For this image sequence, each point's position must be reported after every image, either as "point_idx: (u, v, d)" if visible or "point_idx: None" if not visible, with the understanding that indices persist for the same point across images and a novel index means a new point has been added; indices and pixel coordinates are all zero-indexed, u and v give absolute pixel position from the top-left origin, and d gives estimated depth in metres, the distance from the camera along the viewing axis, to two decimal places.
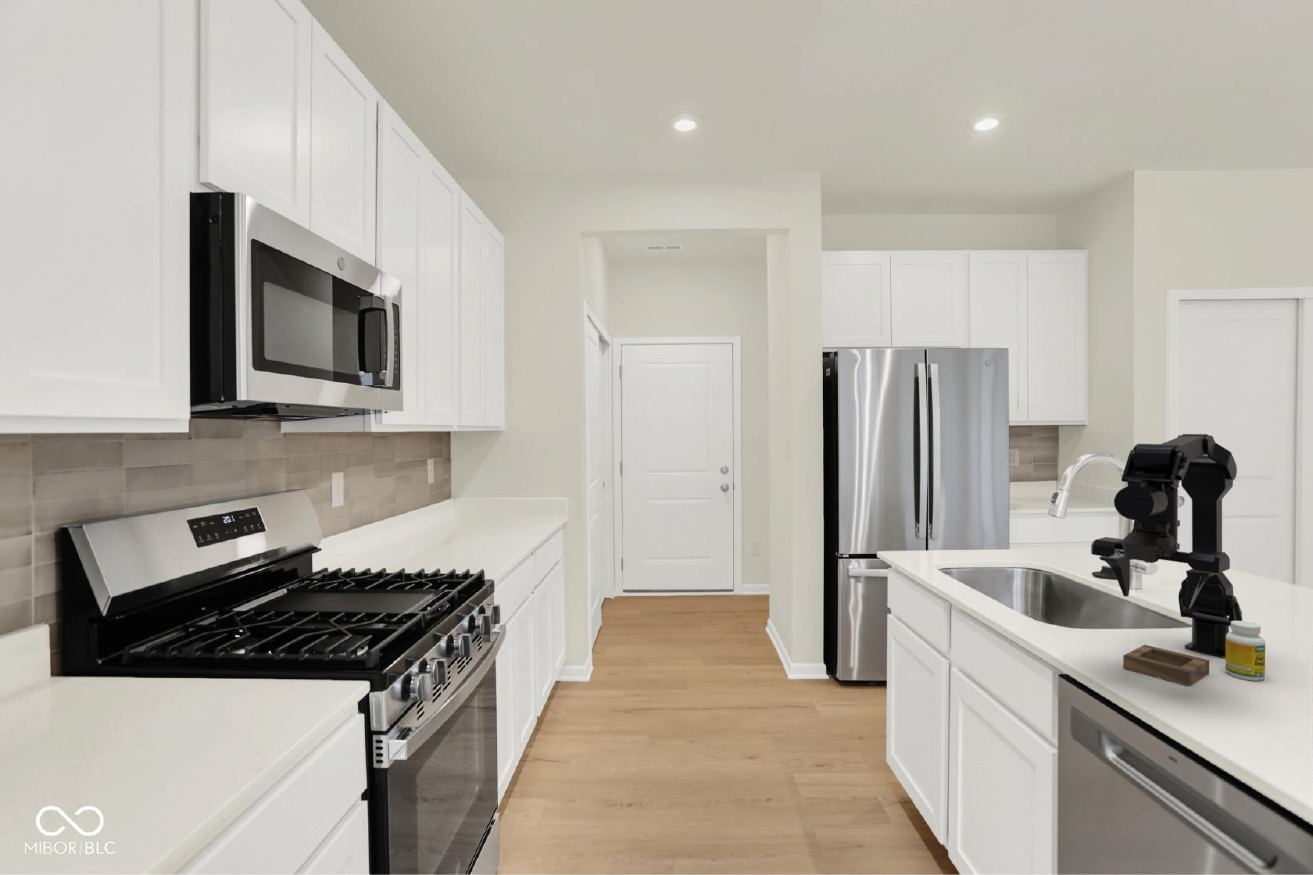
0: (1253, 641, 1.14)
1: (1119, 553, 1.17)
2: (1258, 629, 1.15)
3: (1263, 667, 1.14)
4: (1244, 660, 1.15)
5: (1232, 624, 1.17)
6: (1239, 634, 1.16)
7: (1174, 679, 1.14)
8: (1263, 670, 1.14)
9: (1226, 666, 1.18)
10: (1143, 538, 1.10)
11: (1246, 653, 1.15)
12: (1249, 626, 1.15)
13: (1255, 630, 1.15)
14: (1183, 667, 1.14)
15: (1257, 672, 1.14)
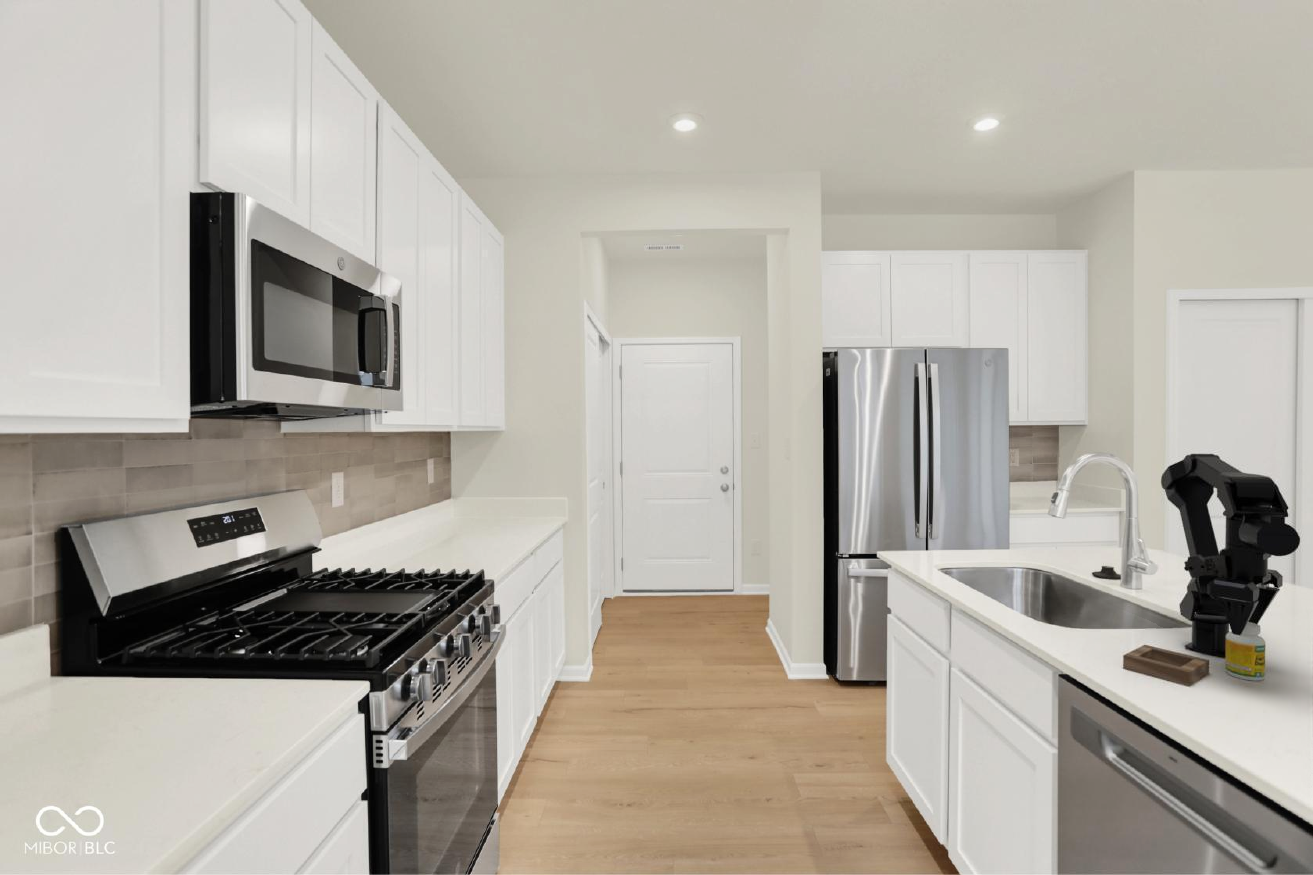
0: (1253, 641, 1.14)
1: None
2: (1258, 629, 1.15)
3: (1263, 667, 1.14)
4: (1244, 660, 1.15)
5: None
6: None
7: (1174, 679, 1.14)
8: (1263, 670, 1.14)
9: (1226, 666, 1.18)
10: None
11: (1246, 653, 1.15)
12: (1249, 626, 1.15)
13: (1255, 630, 1.15)
14: (1183, 667, 1.14)
15: (1257, 672, 1.14)
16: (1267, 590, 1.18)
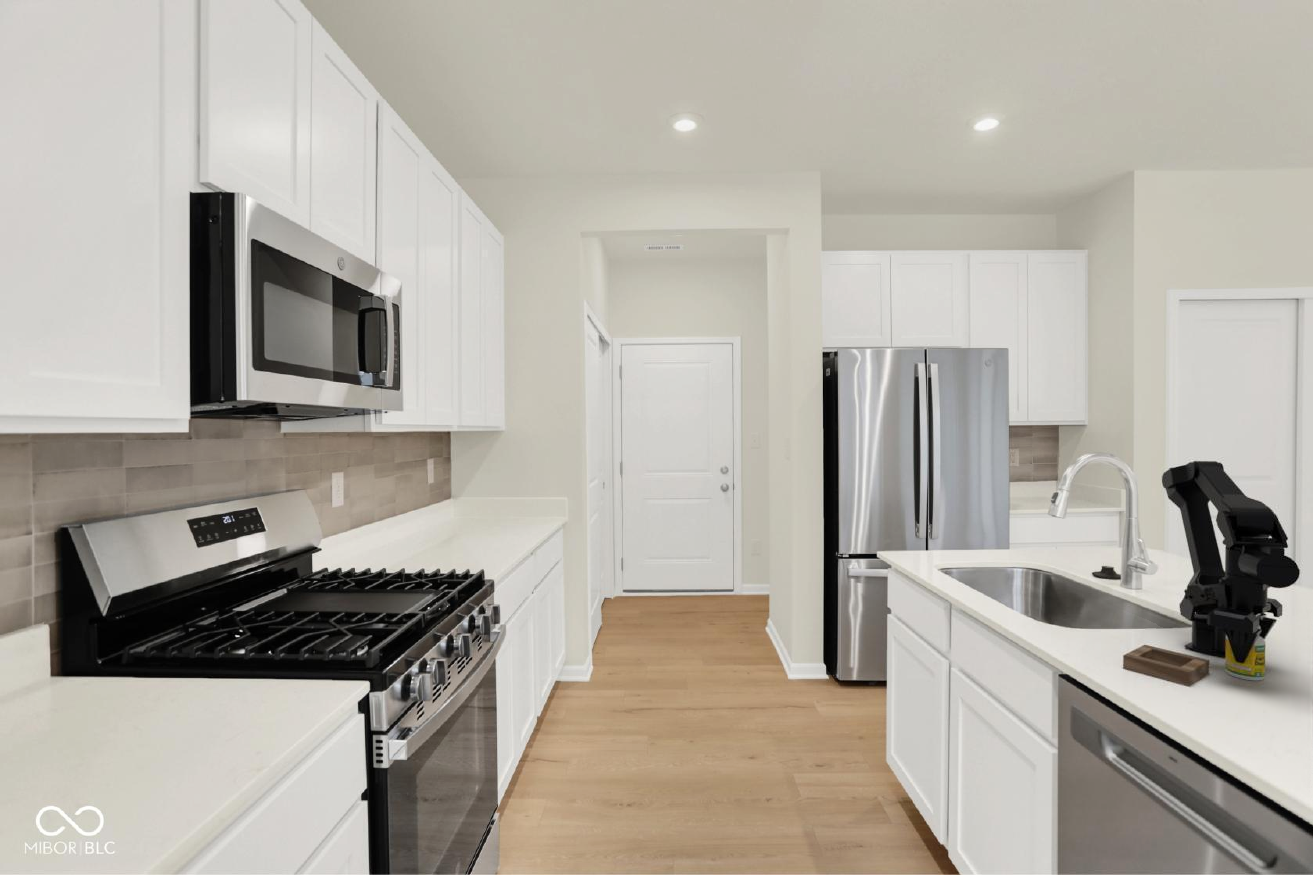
0: None
1: None
2: None
3: (1263, 667, 1.14)
4: None
5: None
6: None
7: (1174, 679, 1.14)
8: (1263, 670, 1.14)
9: (1226, 666, 1.18)
10: (1202, 586, 1.21)
11: None
12: None
13: None
14: (1183, 667, 1.14)
15: (1257, 672, 1.14)
16: (1264, 621, 1.17)
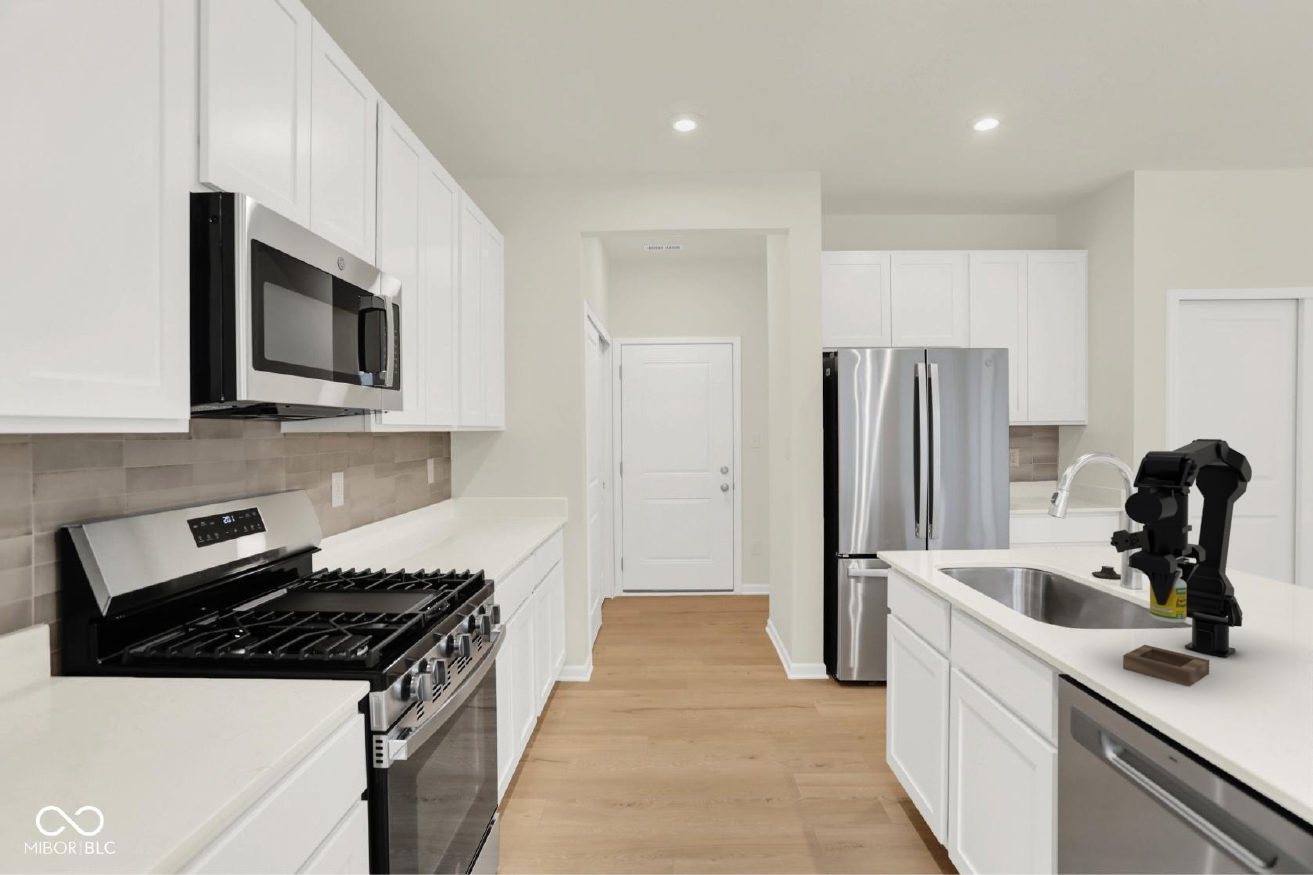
0: None
1: None
2: None
3: (1184, 609, 1.16)
4: None
5: None
6: None
7: (1174, 679, 1.14)
8: (1184, 612, 1.16)
9: (1150, 610, 1.20)
10: None
11: None
12: None
13: None
14: (1183, 667, 1.14)
15: (1178, 614, 1.16)
16: (1186, 565, 1.19)
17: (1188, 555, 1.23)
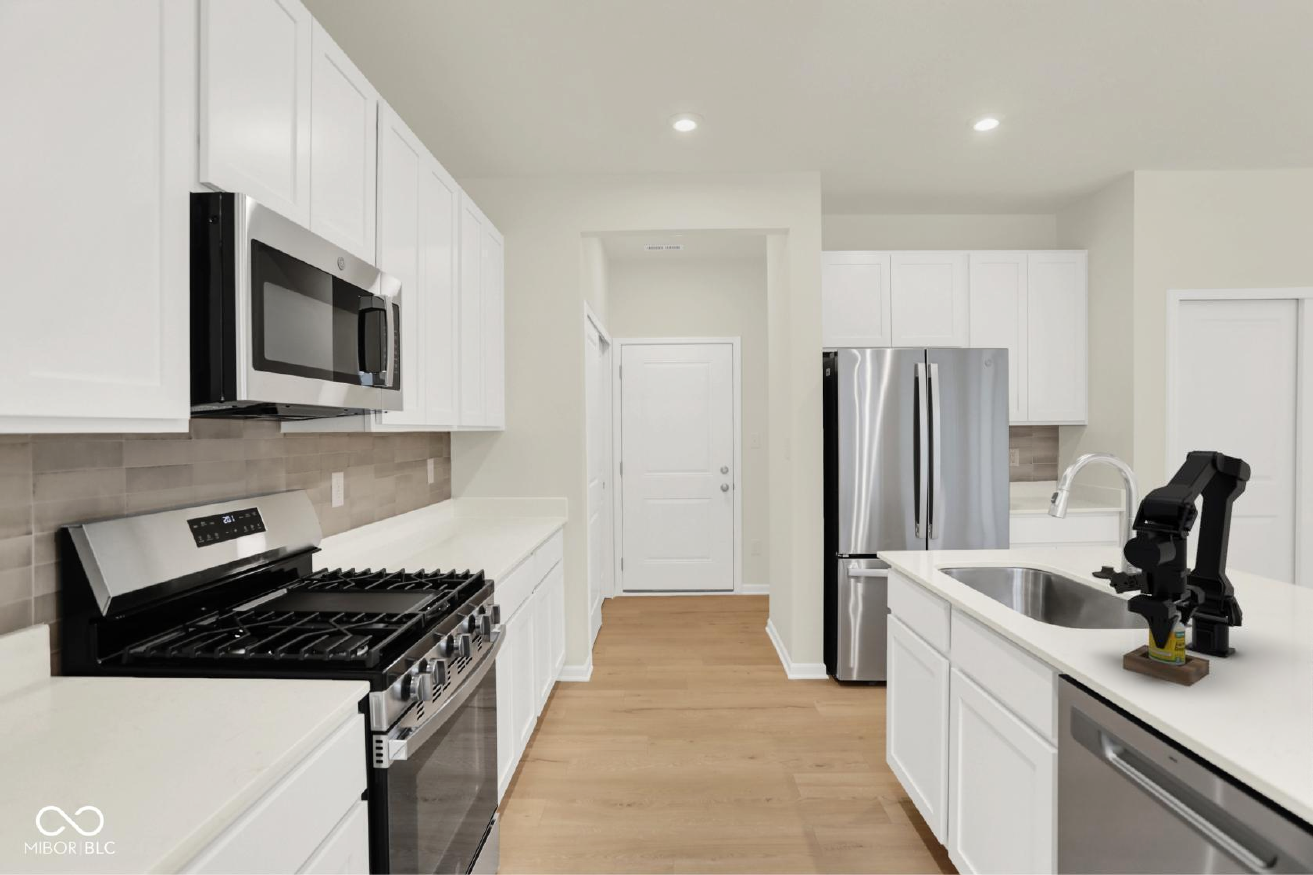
0: None
1: None
2: None
3: (1183, 652, 1.17)
4: None
5: None
6: None
7: (1174, 679, 1.14)
8: (1183, 655, 1.17)
9: (1149, 652, 1.20)
10: (1128, 574, 1.24)
11: None
12: None
13: None
14: (1183, 667, 1.14)
15: (1177, 657, 1.17)
16: (1185, 608, 1.19)
17: (1187, 596, 1.23)
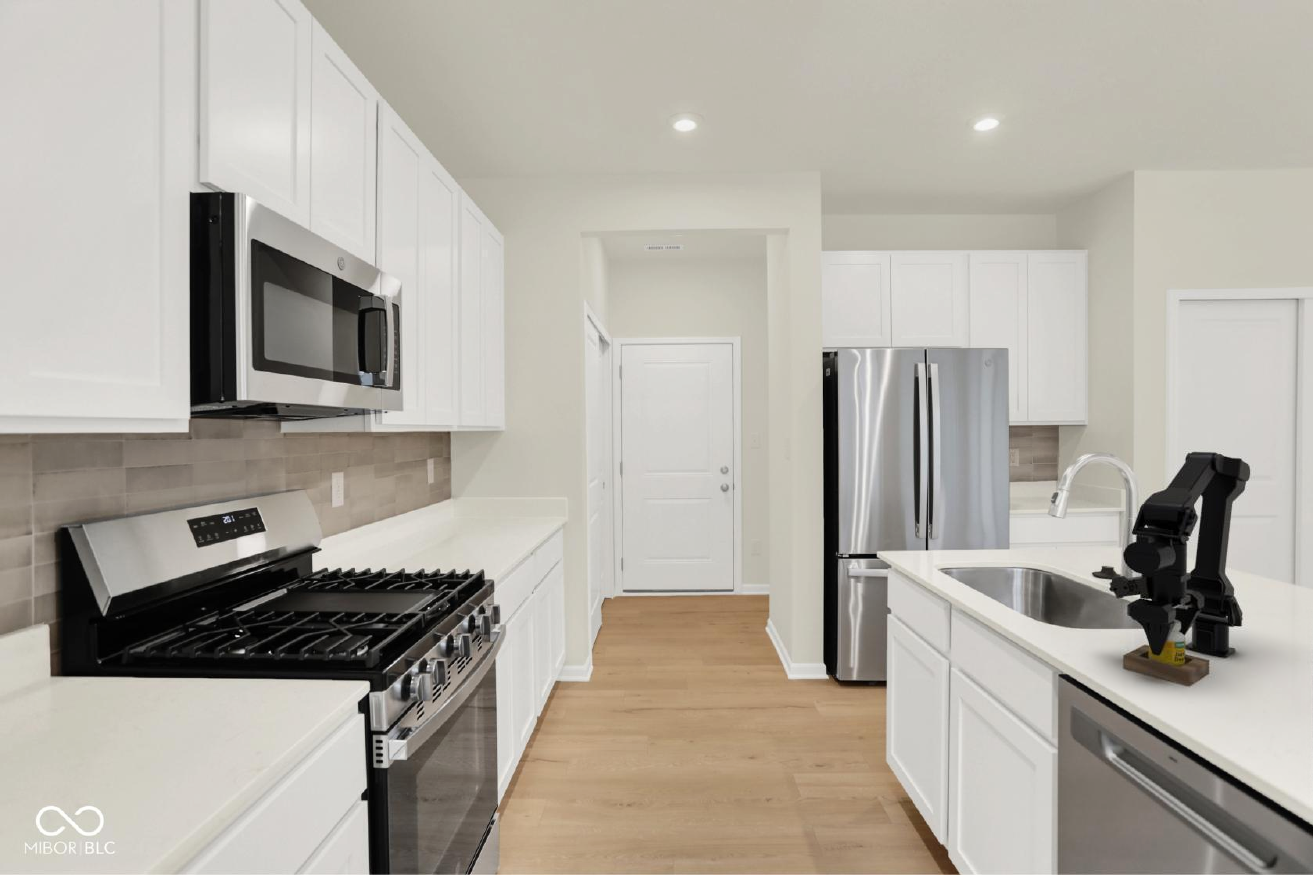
0: (1173, 637, 1.17)
1: None
2: (1178, 625, 1.17)
3: (1183, 663, 1.17)
4: (1164, 656, 1.17)
5: None
6: None
7: (1174, 679, 1.14)
8: None
9: None
10: None
11: (1166, 649, 1.17)
12: None
13: (1176, 627, 1.17)
14: (1183, 667, 1.14)
15: None
16: (1188, 611, 1.20)
17: None
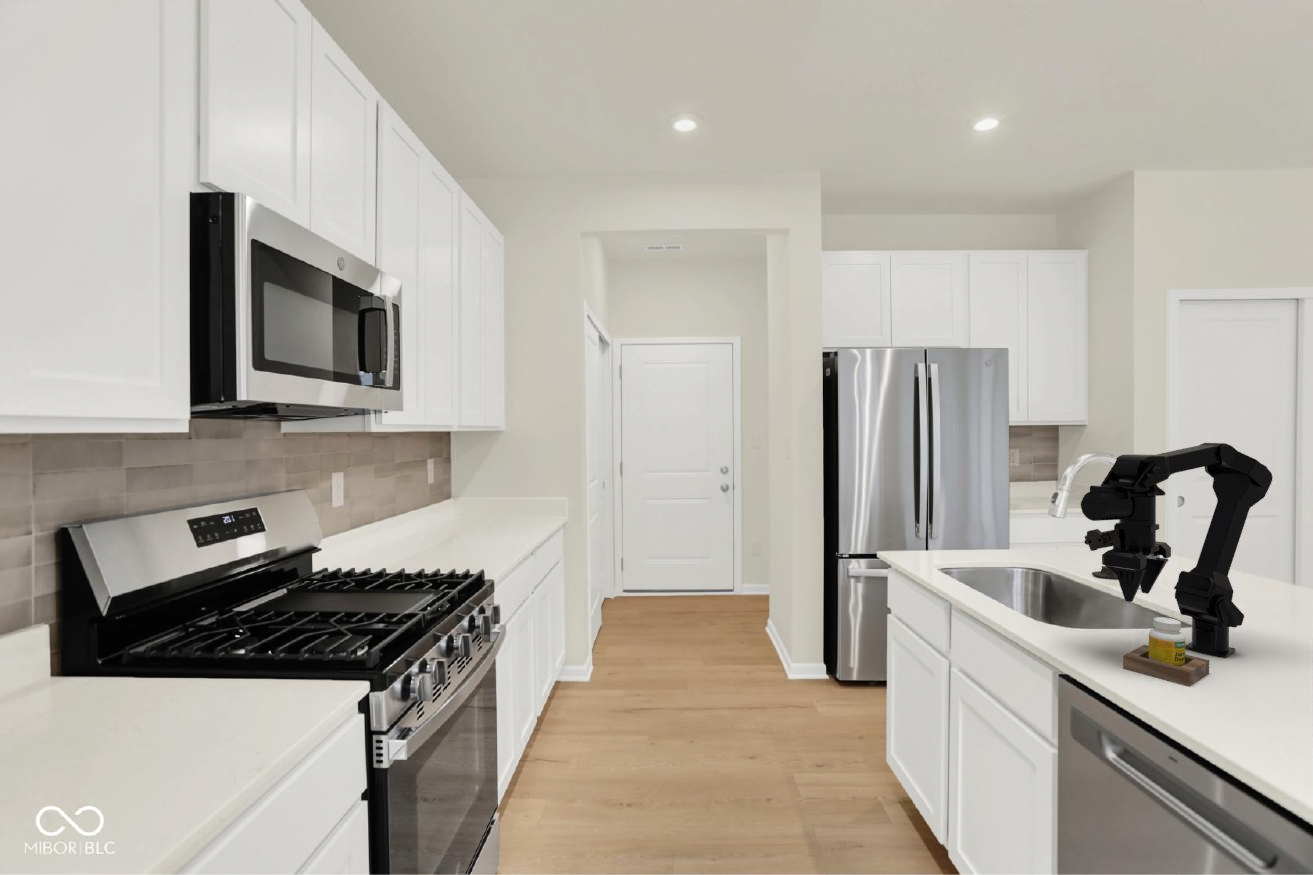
0: (1173, 637, 1.17)
1: None
2: (1178, 625, 1.17)
3: (1183, 663, 1.17)
4: (1165, 656, 1.17)
5: (1154, 621, 1.19)
6: (1161, 630, 1.18)
7: (1174, 679, 1.14)
8: None
9: None
10: None
11: (1166, 649, 1.17)
12: (1170, 622, 1.18)
13: (1176, 627, 1.17)
14: (1183, 667, 1.14)
15: None
16: (1157, 560, 1.28)
17: None
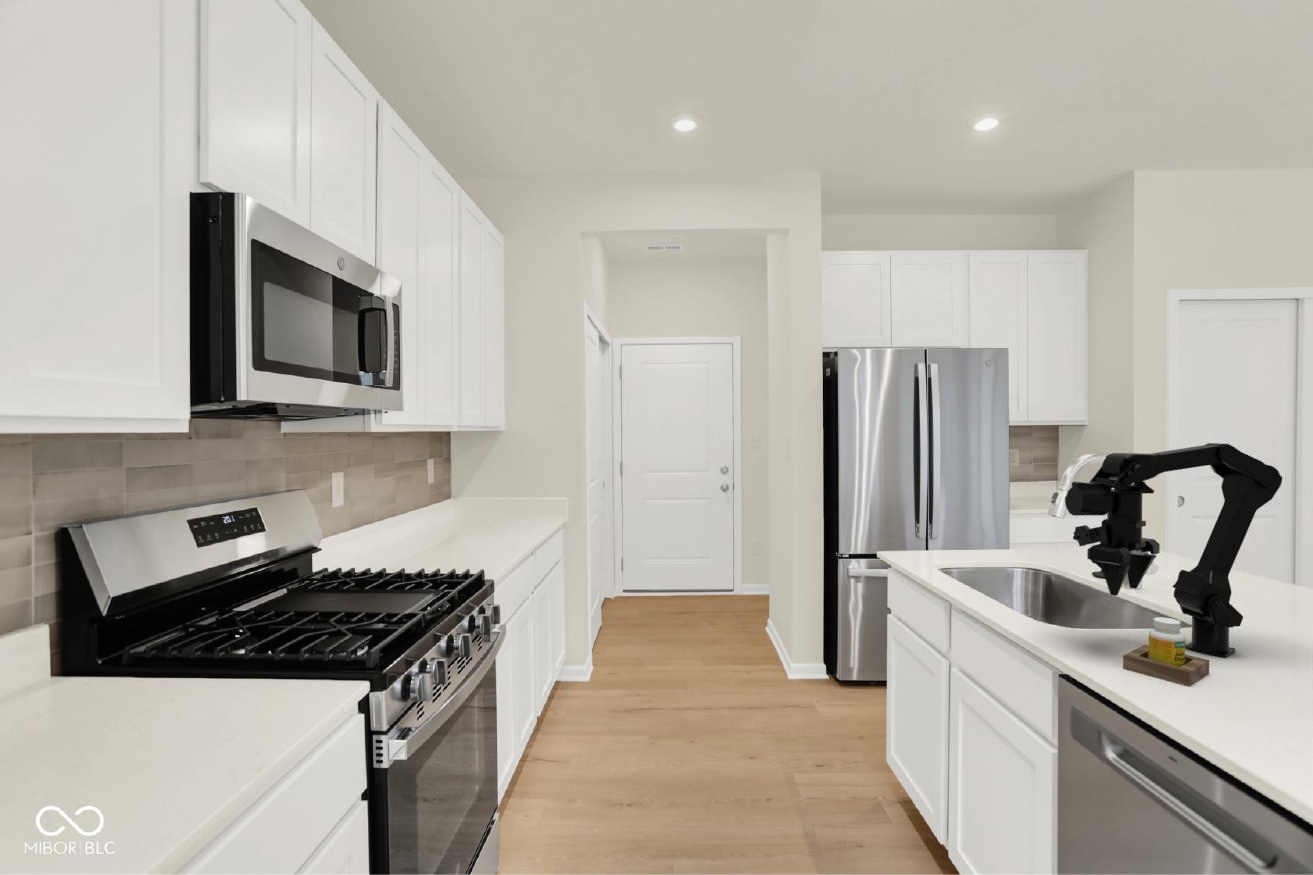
0: (1172, 637, 1.17)
1: None
2: (1178, 625, 1.17)
3: (1183, 662, 1.17)
4: (1164, 655, 1.17)
5: (1154, 620, 1.19)
6: (1160, 630, 1.18)
7: (1174, 679, 1.14)
8: None
9: None
10: None
11: (1166, 649, 1.17)
12: (1170, 622, 1.18)
13: (1175, 627, 1.17)
14: (1183, 667, 1.14)
15: None
16: (1145, 556, 1.31)
17: None
